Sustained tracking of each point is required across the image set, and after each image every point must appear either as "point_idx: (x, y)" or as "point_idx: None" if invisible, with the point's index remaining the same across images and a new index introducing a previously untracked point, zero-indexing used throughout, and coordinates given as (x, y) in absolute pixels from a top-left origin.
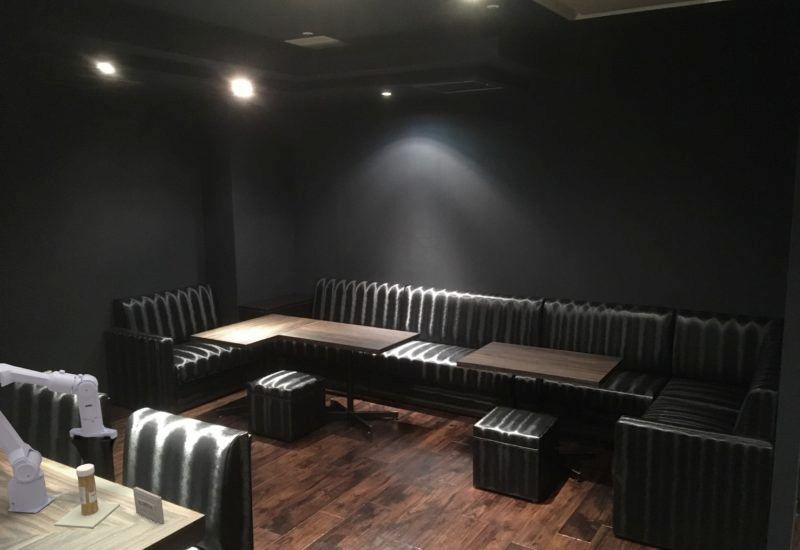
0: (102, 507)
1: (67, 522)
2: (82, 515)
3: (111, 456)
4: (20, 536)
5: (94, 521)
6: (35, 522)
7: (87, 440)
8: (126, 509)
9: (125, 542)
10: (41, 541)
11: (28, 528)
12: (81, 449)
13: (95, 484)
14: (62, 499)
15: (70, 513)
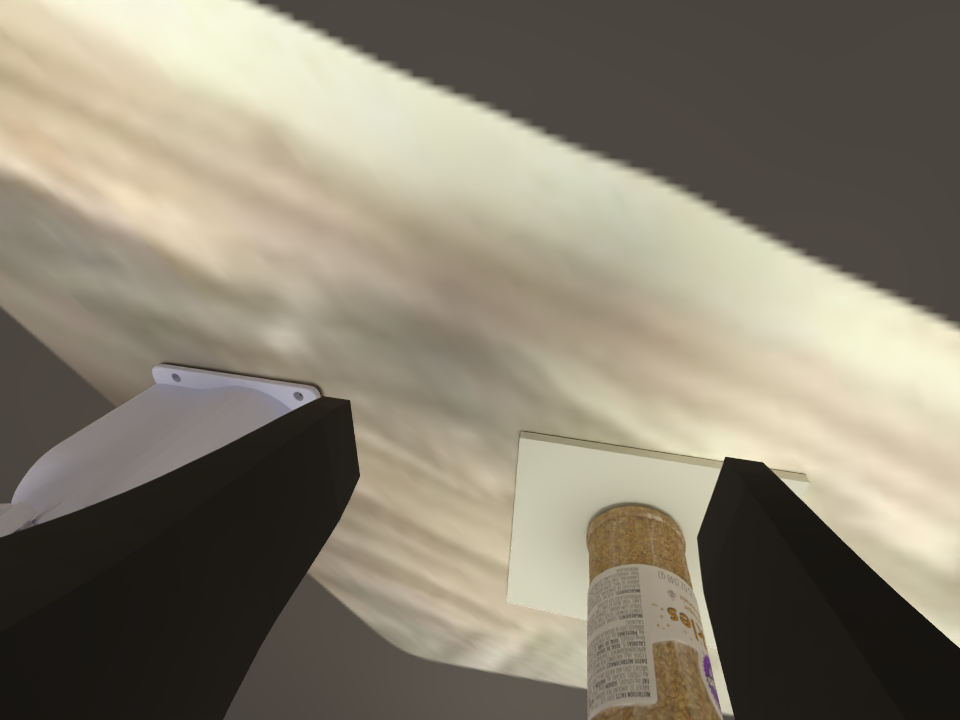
0: (694, 507)
1: (565, 603)
2: None
3: (782, 485)
4: (419, 631)
5: None
6: (398, 560)
7: (89, 616)
8: (874, 517)
9: None
10: (531, 670)
11: (405, 592)
12: (251, 648)
13: (719, 709)
14: (358, 383)
15: (526, 538)
